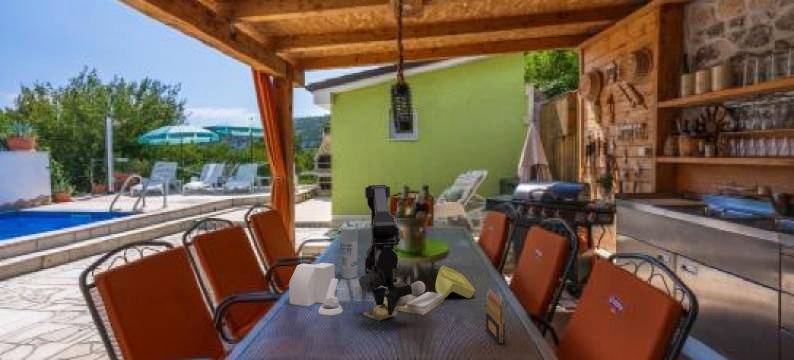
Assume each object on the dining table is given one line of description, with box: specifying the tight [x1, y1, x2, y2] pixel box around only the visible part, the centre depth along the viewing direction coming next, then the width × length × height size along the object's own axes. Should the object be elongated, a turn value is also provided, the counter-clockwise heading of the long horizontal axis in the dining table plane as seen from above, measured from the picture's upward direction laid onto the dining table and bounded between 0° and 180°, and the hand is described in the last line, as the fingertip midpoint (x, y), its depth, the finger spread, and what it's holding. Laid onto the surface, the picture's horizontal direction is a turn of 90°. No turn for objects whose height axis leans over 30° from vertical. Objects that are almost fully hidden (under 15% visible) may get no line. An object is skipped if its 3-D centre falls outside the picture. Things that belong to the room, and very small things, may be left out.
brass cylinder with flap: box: [363, 303, 398, 322], centre depth 152 cm, size 6×9×4 cm, turn 41°
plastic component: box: [434, 265, 476, 300], centre depth 178 cm, size 20×7×10 cm
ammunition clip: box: [485, 288, 506, 345], centre depth 134 cm, size 11×2×12 cm, turn 7°
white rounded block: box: [288, 262, 336, 307], centre depth 168 cm, size 11×11×12 cm
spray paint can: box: [340, 226, 359, 280], centre depth 199 cm, size 6×6×20 cm
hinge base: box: [373, 280, 445, 316], centre depth 164 cm, size 18×16×6 cm
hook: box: [317, 278, 343, 316], centre depth 159 cm, size 8×12×7 cm
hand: (385, 313), depth 150 cm, fingers closed on brass cylinder with flap, 4 cm apart
